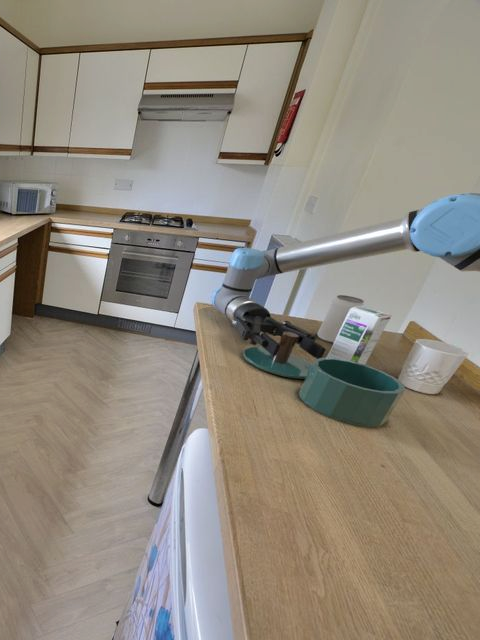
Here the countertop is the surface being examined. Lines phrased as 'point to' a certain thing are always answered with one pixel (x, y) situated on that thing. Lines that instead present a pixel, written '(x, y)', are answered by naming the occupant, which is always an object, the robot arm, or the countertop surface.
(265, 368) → the bowl lid
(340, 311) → the can
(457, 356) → the white cup
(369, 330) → the syrup box
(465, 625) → the countertop surface
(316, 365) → the bowl
